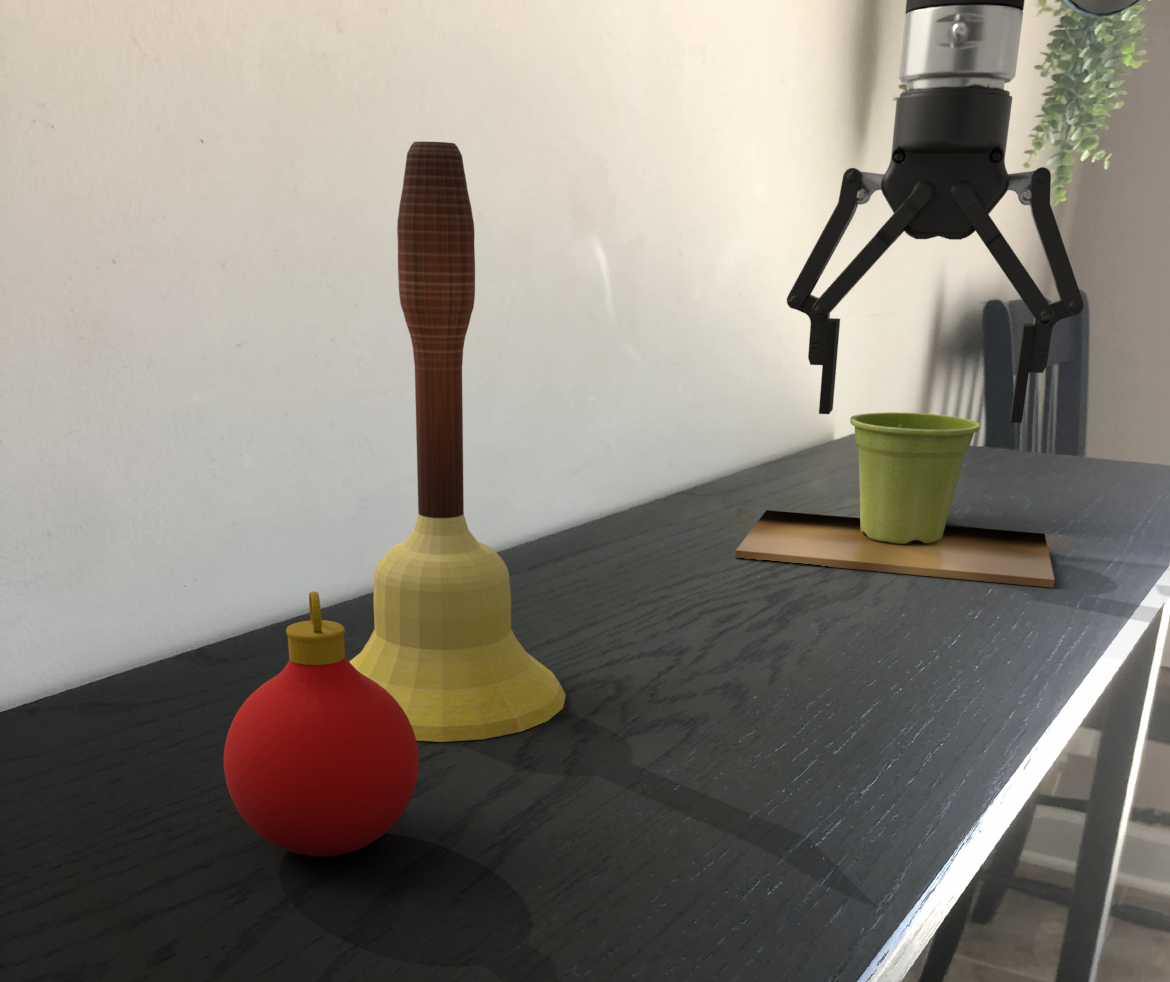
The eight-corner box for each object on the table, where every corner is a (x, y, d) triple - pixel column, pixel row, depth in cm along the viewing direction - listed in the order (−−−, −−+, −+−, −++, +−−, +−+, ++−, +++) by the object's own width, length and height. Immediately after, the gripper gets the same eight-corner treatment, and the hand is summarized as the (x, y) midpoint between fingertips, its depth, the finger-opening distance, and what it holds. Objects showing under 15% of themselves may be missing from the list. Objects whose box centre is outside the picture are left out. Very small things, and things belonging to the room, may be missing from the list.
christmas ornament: (435, 879, 46) (429, 615, 42) (235, 901, 44) (209, 627, 40) (405, 799, 53) (397, 562, 48) (229, 816, 51) (205, 571, 47)
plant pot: (817, 538, 96) (830, 420, 92) (865, 517, 103) (878, 407, 99) (938, 558, 91) (955, 434, 87) (979, 534, 98) (997, 419, 95)
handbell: (470, 643, 72) (465, 152, 62) (616, 704, 64) (639, 148, 53) (274, 687, 64) (232, 137, 54) (411, 763, 56) (391, 129, 46)
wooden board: (1041, 532, 102) (1043, 525, 102) (1053, 588, 86) (1054, 579, 86) (770, 509, 108) (771, 502, 107) (734, 558, 92) (735, 549, 92)
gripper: (760, 86, 84) (742, 414, 93) (1163, 78, 78) (1103, 431, 87) (776, 96, 91) (758, 402, 99) (1148, 90, 85) (1095, 416, 93)
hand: (918, 416), depth 93 cm, fingers open, 13 cm apart
